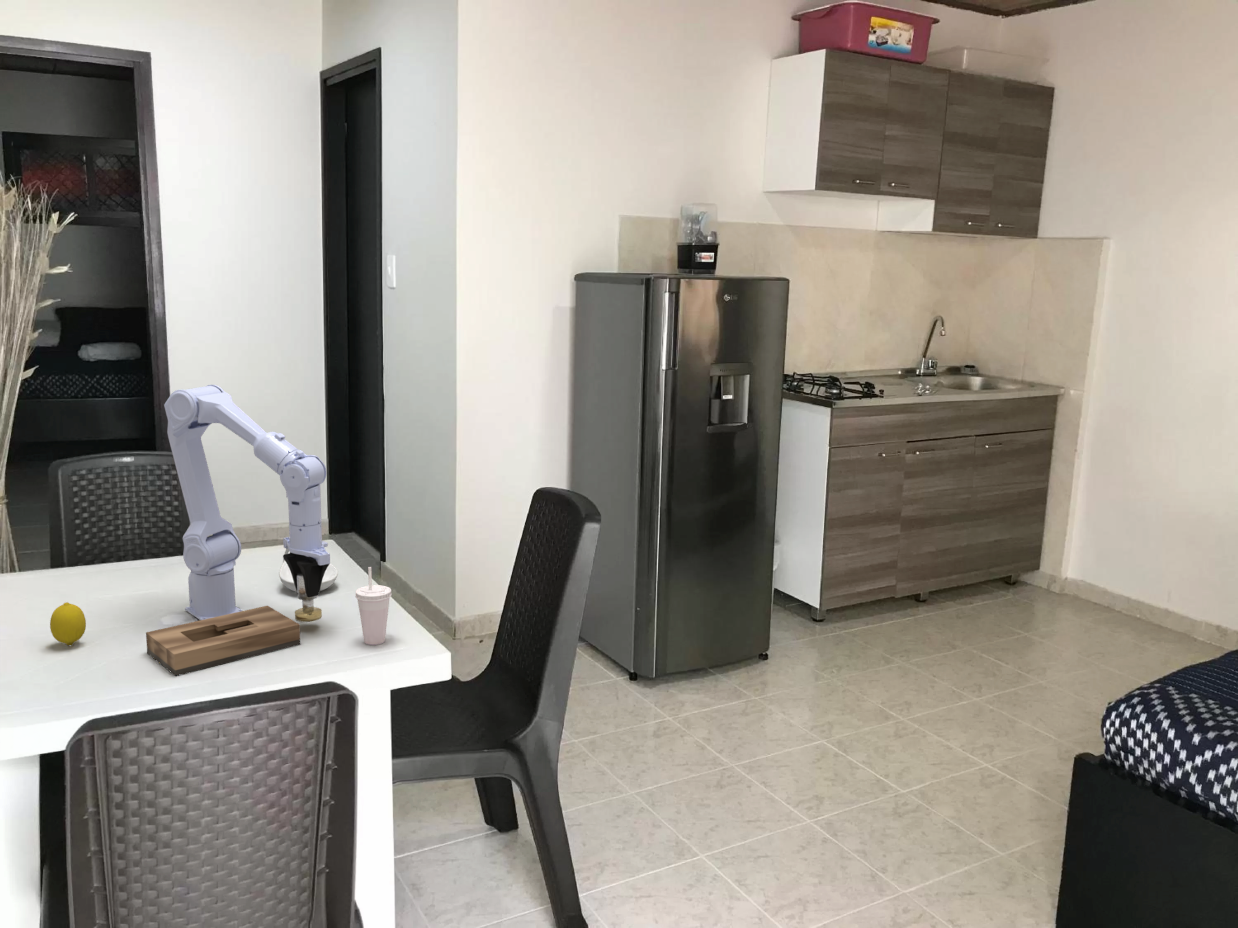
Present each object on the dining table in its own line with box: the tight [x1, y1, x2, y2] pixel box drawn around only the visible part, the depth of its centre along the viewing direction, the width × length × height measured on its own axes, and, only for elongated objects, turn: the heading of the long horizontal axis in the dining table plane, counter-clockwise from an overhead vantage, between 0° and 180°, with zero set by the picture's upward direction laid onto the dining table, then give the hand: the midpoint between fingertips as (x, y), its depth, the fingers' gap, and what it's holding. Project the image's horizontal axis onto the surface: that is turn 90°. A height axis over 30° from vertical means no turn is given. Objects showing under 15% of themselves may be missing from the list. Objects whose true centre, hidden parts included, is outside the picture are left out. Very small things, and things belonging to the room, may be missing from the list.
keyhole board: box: [145, 605, 301, 676], centre depth 180 cm, size 13×22×4 cm, turn 133°
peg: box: [294, 572, 323, 623], centre depth 190 cm, size 5×5×8 cm
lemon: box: [49, 601, 87, 646], centre depth 179 cm, size 6×6×8 cm
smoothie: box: [355, 566, 392, 646], centre depth 184 cm, size 6×6×14 cm
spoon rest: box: [278, 548, 339, 593], centre depth 218 cm, size 24×12×7 cm, turn 29°
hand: (307, 592), depth 190 cm, fingers closed on peg, 4 cm apart
